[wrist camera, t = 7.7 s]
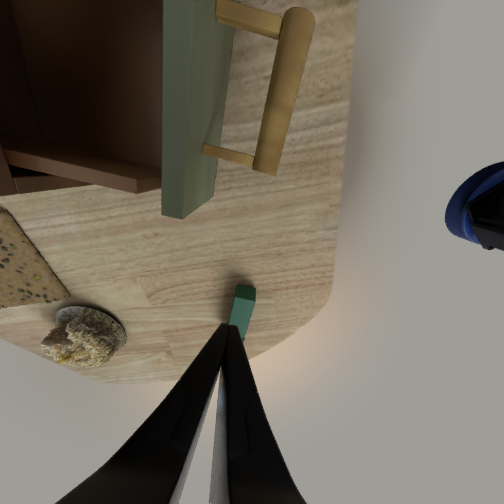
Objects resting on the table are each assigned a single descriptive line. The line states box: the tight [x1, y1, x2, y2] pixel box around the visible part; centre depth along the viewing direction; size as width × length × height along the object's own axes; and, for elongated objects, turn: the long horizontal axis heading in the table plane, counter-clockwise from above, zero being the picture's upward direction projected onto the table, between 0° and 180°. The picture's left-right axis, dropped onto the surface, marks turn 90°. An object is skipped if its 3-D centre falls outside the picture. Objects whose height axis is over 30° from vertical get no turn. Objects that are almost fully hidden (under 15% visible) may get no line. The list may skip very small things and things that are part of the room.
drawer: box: [0, 0, 315, 219], centre depth 11 cm, size 19×14×8 cm
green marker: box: [228, 285, 256, 343], centre depth 24 cm, size 8×2×2 cm, turn 167°
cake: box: [41, 306, 127, 368], centre depth 25 cm, size 10×10×5 cm
